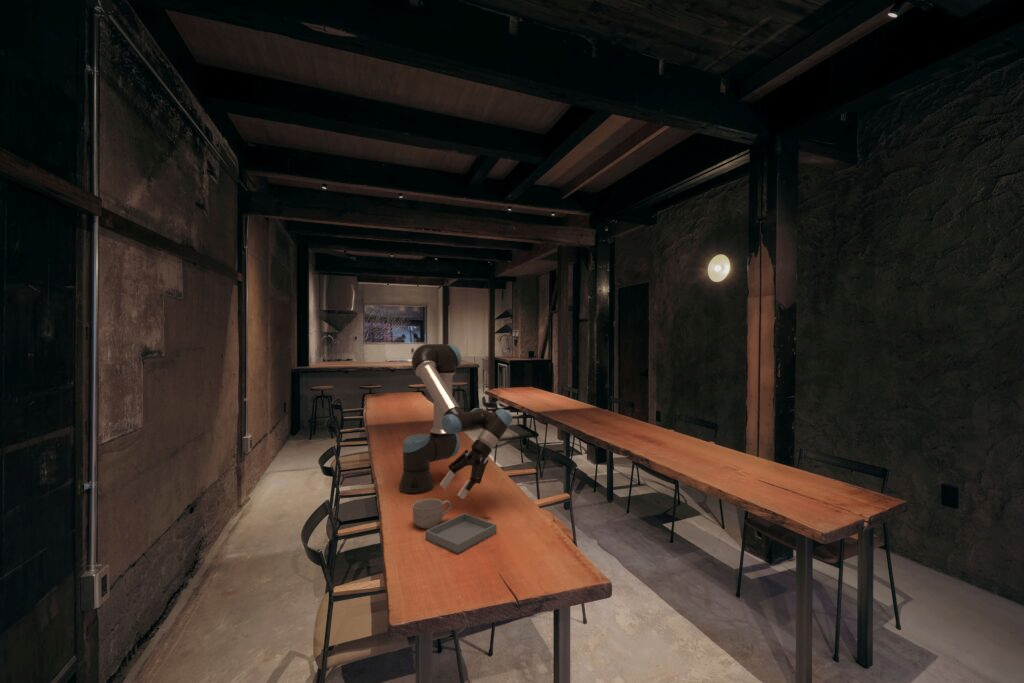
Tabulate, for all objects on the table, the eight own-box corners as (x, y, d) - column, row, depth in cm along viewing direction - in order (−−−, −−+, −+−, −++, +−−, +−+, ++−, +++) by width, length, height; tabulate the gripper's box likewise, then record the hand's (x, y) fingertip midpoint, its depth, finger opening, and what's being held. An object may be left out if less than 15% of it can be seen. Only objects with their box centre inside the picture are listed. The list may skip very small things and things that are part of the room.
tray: (425, 539, 139) (425, 530, 139) (464, 521, 154) (464, 513, 154) (457, 554, 130) (457, 544, 130) (496, 533, 144) (496, 524, 144)
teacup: (412, 533, 144) (412, 510, 144) (411, 520, 154) (411, 498, 154) (453, 528, 148) (453, 506, 148) (449, 516, 158) (449, 495, 158)
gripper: (509, 456, 154) (475, 507, 145) (473, 444, 174) (441, 488, 165) (497, 444, 151) (461, 496, 142) (462, 433, 171) (429, 477, 162)
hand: (450, 492), depth 154 cm, fingers open, 13 cm apart
